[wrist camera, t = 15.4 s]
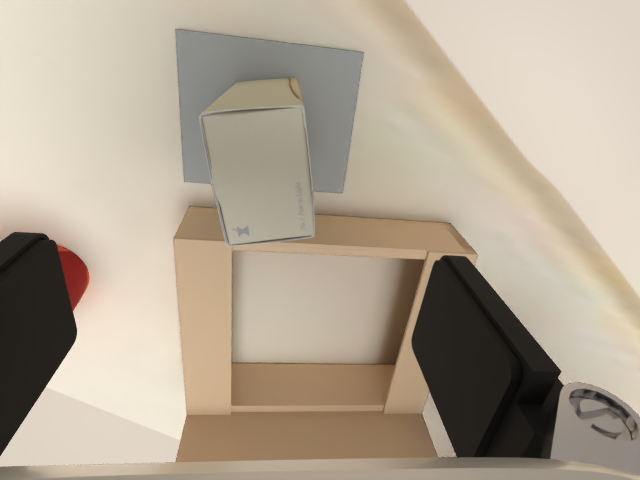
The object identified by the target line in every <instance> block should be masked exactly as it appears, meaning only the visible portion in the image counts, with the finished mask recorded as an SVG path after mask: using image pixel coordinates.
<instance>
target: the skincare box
mask: <svg viewBox="0 0 640 480" xmlns="http://www.w3.org/2000/svg"><path fill="white" fill-rule="evenodd" d="M199 123H200V129H201V134H202V140H203V145H204V150H205V155H206V160H207V165H208V170H209V175H210V180H211V185H212V189H213V193H214V197H215V202H216V206H217V210H218V214H219V219H220V223H221V227H222V231H223V235H224V239H225V244H226V246H227V247H233V246H245V245H256V244H266V243H275V242H285V241H293V240H301V239H308V238H313V237H314V236H315V213H314V198H313V185H312V174H311V162H310V152H309V143H308V134H307V125H306V117H305V109H304V105H303V101H302V96H301V92H300V87H299V83H298V80H297V78H279V79H264V80H251V81H241V82H236V83H235V84H234V85H233V86H232V87H231V88H229V89H228V90H227V91H226V92H225V93H224V94H223V95H221V96H220V97H219V98H218V99H217V100H216V101H215V102H213V103H212V104H211V105H210V106H209V107H207V108H206V109H205V110H204V111H203V112H202V113H200V115H199Z"/></svg>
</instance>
